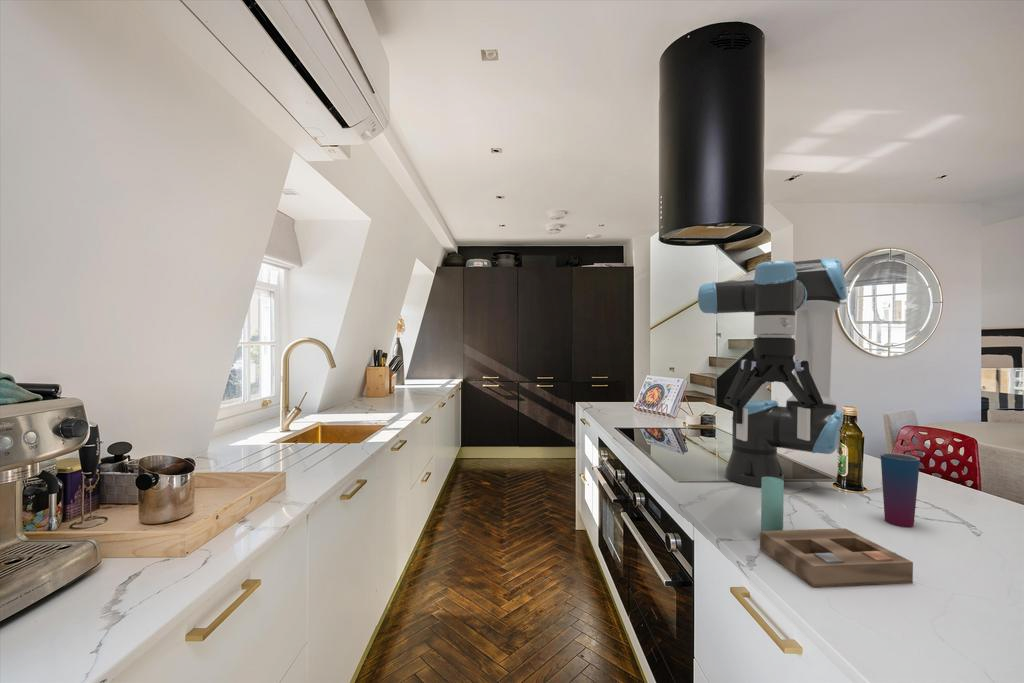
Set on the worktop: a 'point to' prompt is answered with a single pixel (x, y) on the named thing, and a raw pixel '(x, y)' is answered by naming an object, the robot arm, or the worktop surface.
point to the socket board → (835, 557)
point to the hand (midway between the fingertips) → (772, 439)
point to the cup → (899, 488)
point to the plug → (772, 504)
